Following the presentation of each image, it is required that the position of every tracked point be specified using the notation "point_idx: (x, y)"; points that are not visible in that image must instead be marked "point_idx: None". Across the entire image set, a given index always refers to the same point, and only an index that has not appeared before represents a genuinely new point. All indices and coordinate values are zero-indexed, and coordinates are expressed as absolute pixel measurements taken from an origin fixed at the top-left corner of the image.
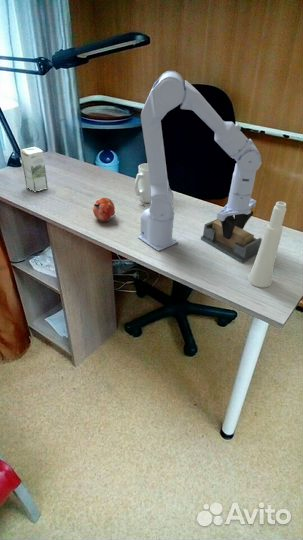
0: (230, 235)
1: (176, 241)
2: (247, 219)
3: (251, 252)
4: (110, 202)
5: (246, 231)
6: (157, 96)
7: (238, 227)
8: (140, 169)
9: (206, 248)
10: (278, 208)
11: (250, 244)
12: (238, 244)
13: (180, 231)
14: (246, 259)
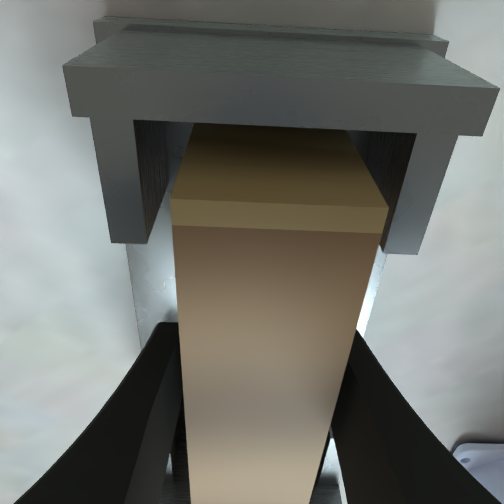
0: (374, 362)
1: (473, 452)
2: (81, 496)
3: (293, 45)
4: None
5: (181, 314)
6: None
7: (187, 402)
8: None
9: (407, 338)
10: None
11: (380, 96)
12: (410, 218)
13: (341, 479)
14: (366, 33)
